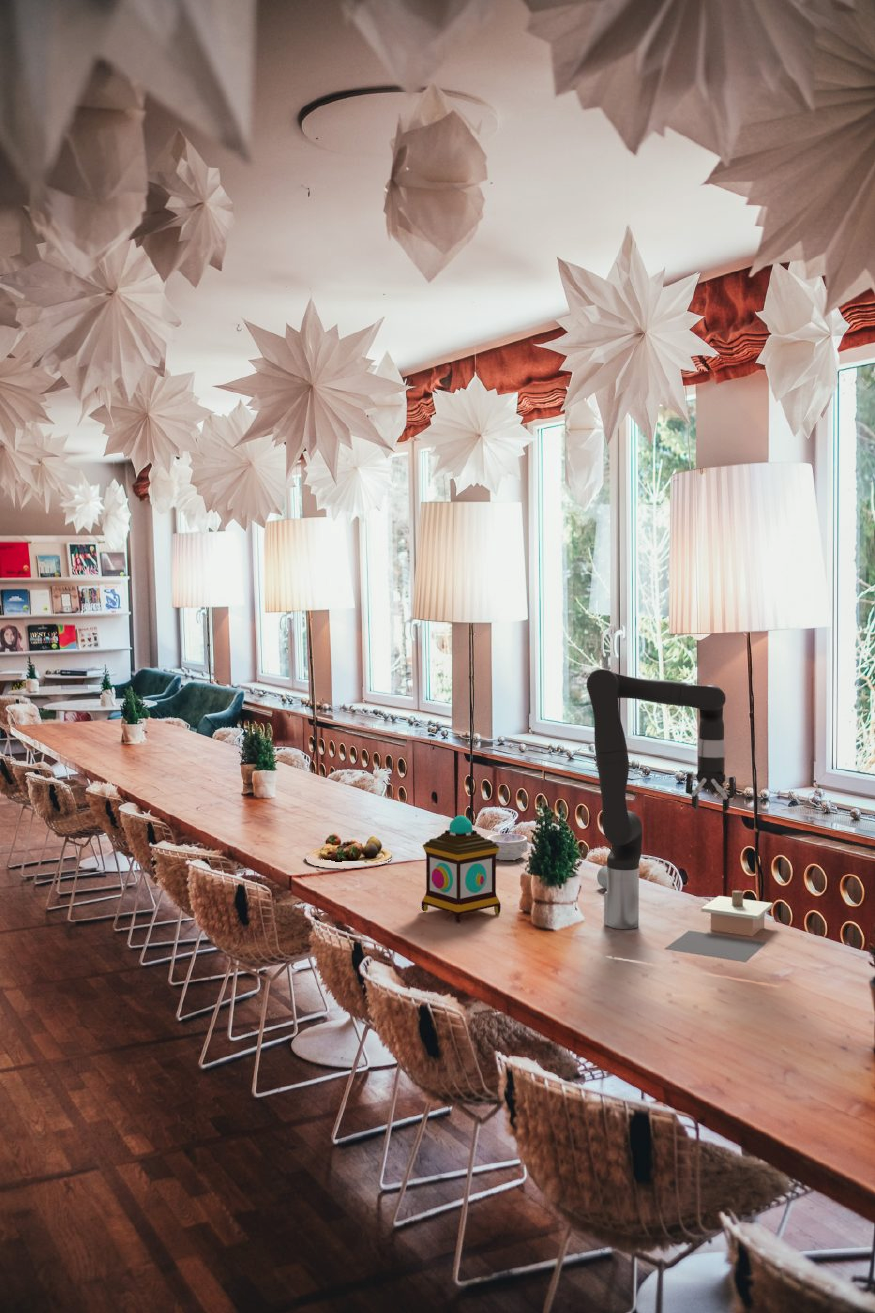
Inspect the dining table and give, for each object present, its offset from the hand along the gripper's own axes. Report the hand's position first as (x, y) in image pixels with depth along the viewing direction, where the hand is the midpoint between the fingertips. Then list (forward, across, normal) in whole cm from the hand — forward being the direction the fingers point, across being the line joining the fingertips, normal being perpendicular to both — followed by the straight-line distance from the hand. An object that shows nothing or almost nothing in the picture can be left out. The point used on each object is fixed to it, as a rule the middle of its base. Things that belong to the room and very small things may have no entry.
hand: (710, 810), depth 325 cm
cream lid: (+28, +8, +1) cm, 29 cm away
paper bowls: (+35, -92, +48) cm, 109 cm away
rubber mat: (+34, +8, -19) cm, 40 cm away
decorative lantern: (+35, -69, -25) cm, 81 cm away
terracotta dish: (+34, +8, +1) cm, 35 cm away
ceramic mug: (+34, -39, +25) cm, 58 cm away
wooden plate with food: (+36, -141, +16) cm, 146 cm away
